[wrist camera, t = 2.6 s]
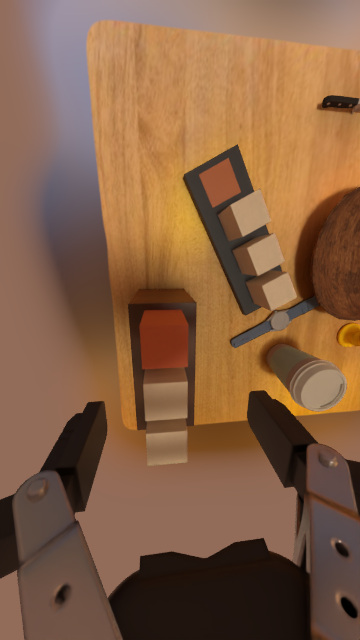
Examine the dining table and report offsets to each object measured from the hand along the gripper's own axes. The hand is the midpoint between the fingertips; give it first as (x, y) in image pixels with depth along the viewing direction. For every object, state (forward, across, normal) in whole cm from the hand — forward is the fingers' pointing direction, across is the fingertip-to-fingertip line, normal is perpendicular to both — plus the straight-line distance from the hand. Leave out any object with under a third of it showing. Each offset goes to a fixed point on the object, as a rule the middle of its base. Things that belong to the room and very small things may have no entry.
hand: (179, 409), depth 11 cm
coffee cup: (+27, -24, +11) cm, 38 cm away
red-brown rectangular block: (+14, 0, 0) cm, 14 cm away
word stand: (+27, 0, +6) cm, 28 cm away
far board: (+27, -13, -11) cm, 32 cm away
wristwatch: (+27, -22, +3) cm, 35 cm away
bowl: (+27, -34, -9) cm, 44 cm away
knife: (+27, -32, -30) cm, 51 cm away
